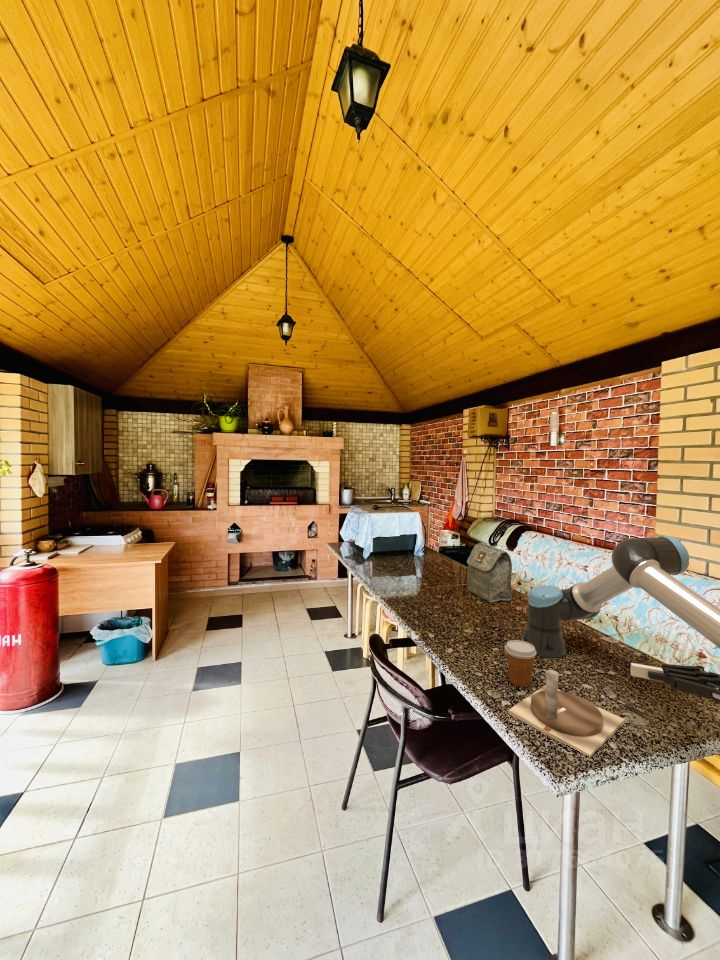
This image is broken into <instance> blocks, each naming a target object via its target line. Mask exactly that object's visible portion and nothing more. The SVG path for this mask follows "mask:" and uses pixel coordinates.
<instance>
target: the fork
mask: <svg viewBox="0 0 720 960" xmlns="http://www.w3.org/2000/svg"><path fill="white" fill-rule="evenodd" d="M602 689H603V690H604V691H605V693H606V695H607V696H608V697H609V699H614V698H618V697H617V695H616V693H614V691H613V690H612V689H611V688H610V687H602ZM617 702H618V703H621V704H623V705H624V706H626V708H628V709H629V710H630V711H632V712H633V713H634V714H636V715H638V716H639V717H641V718H643V719H644V718H645V719H644V720H646V721H648V720H649V721H651V722H652V723H651V722H650V723H651V724H653V723H654V722H653V721H652V720H651V719H650V718H648V717H647V716H646V715H644V714H643V713H642V712H640V711H639V710H637V709H635V708H634V707H632V706H630V705H628V704H627V703H625V702H623V701H622V700H617ZM649 721H648V722H649Z"/></svg>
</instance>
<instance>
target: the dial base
mask: <svg viewBox="0 0 720 960" xmlns="http://www.w3.org/2000/svg"><path fill="white" fill-rule="evenodd" d="M544 690H546V684H545V685H542V687H540V688H539V689H538V690H535V691H534V692H533V693H532V694H529V696H527V697H525V698H524V699H522V700H521V701H520V702H518V703H517V704H515V705H514V706H512V707H510V708H508V709H507V710H508V712H507V713H508V715H510V716H512V717H514V718H515V719H517V720H520V721H521V722H522V723H524V724H527V725H529V726H530V727H532V728H534V729H536V730H537V731H539V732H541V733H542V734H545V735H546V736H548V737H550V738H551V739H553V740H556V741H557V742H559V743H561V744H562V743H563V744H562V745H564V744H565V745H564V746H566V745H568V746H570V747H571V748H573V749H575V750H577V751H579V752H581V753H583V754H585V755H587V756H589V757H591V756H592V755H593V754H594V753H595V752H596V751H597V750H598V749H599V748H600V747H601V746H602V745H603V744H604V743H605V742H606V741H607V740H608V741H609V740H610V739H611V738H612V737H613V736H614V735H615V734H616V732H617V731H618V730H619V729H620V728H621V727H622V726H623V725H624V724H625V722H626V720H625V718H623V717H621V716H618V715H617V714H615V713H612V712H610V711H608V710H605V709H603V708H601V707H599V706H596V705H594V706H595V707H597V708H598V710H599V711H600V712H601V714H602V716H603V727H602V729H601V730H600V731H599V732H598V733H596V734H592V735H573V734H568V733H564V732H561V731H558V730H556V729H554V728H552V727H550V726H548V725H546V724H545V723H543V722H542V721H540V720H539V719H538V718H537V717H536V716H535V714H534V713H533V711H532V709H531V698H532V696H533V695H534V694H535V693H537V692H540V691H544ZM558 691H562V690H561V689H559V688H558ZM608 741H607V742H608ZM607 742H606V743H607ZM606 743H605V744H606ZM605 744H604V745H605ZM604 745H603V746H604ZM568 746H567V747H568ZM603 746H602V747H603ZM570 747H569V748H570ZM602 747H601V748H602ZM571 748H570V749H571ZM601 748H600V749H601ZM573 749H572V750H573ZM600 749H599V750H600ZM575 750H574V751H575ZM599 750H598V751H599ZM577 751H576V752H577ZM598 751H597V752H598ZM579 752H578V753H579ZM597 752H596V753H597ZM596 753H595V754H596ZM595 754H594V755H595ZM594 755H593V756H594ZM593 756H592V757H593ZM592 757H591V758H592Z"/></svg>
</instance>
